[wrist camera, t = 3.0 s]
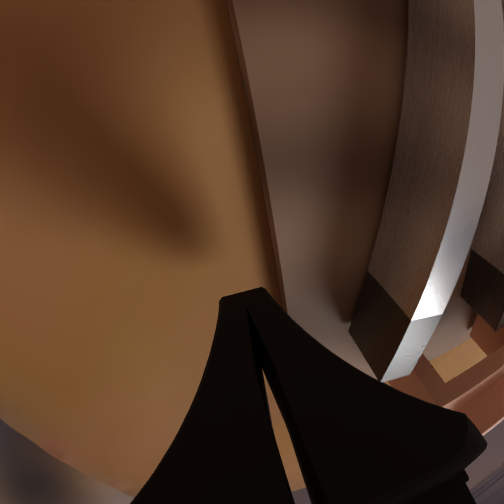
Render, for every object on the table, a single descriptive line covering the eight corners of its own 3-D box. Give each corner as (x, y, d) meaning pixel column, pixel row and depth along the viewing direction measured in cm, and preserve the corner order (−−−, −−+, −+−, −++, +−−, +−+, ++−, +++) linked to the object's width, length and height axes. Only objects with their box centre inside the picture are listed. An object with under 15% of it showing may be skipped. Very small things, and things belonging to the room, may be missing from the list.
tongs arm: (407, -30, 6) (467, -48, 3) (438, -13, 6) (498, -23, 3) (348, 331, 12) (379, 383, 10) (376, 326, 13) (409, 374, 10)
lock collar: (393, 343, 14) (460, 442, 8) (491, 294, 14) (555, 359, 9) (386, 377, 15) (438, 466, 10) (478, 329, 16) (533, 392, 10)
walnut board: (199, -115, 4) (200, -129, 3) (476, -58, 5) (488, -60, 4) (295, 399, 16) (300, 412, 15) (474, 322, 17) (481, 331, 17)
